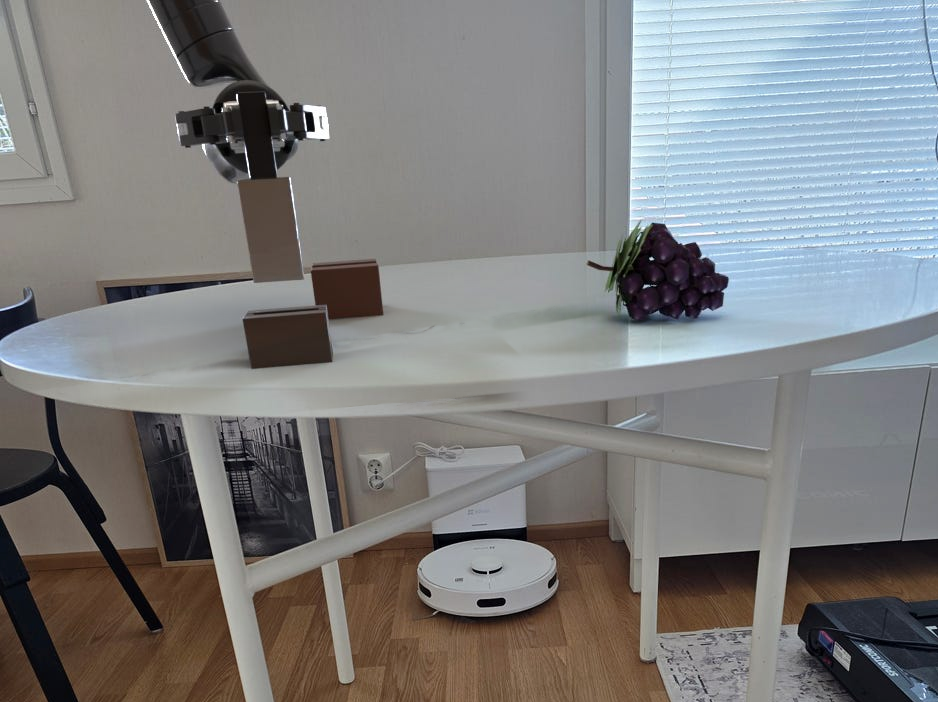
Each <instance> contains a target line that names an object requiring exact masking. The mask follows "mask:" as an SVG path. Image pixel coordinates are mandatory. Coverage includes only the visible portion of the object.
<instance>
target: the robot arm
mask: <svg viewBox="0 0 938 702" xmlns="http://www.w3.org/2000/svg"><path fill="white" fill-rule="evenodd" d="M146 2H147V3H148V5H149V8H150V9H151V11H152V14H153V16H154V18H155V20H156V21H157V24H158V26H159V28H160V29H161V32H162V34H163V36H164V39H165V40H166V42H167V44H168V46H169V48H170V50H171V52H172V54H173V56H174V58H175V61H176V62H177V64H178V66H179V68H180V70H181V72H182V73H183V75H184V78H185V79H186V80H187V82H188V83H189V85H191V86H192V87H193V88H195V89H199V90H202V89H211V88H215V87H221V86H226V87H224V88H223V89H222V90H221V91H220V92H219V93H218V94H217V96H216V98H215V99H214V102H213V104H212V107H211V106H208V105H207V106H203V108H197V109H192V110H186V111H185V110H179V111H178V112H175V113H174V118H175V119H174V120H175V123H176V127H177V128H176V129H177V134H178V140H179V142H180V143H179V145H180V147H184V148H185V149H190V148H192V146H193V147H194V146H202V149H203V152H204V154H205V156H206V159H207V161H208V162H209V164H210V166H211V167H212V169H213V170H214V172H216V174H217V175H219V177H221V178H222V179H223V180H224V181H226V182H228V183H230V184H233V185H237V180H242V179H250V176H249V170H248V164H247V158H246V151H245V145H244V131H243V125H242V119H241V112H240V106H239V105H238V101H237V93H238V92H263V91H264V92H265V95H266V102H267V111H268V118H269V125H270V132H271V137H272V143H273V150H274V157H275V164H276V170H277V171H278V170H279V169H281V168H282V167H283V166H285V164H286V162H288V161H290V159H293V158H294V157H295V156H296V154H297V152H298V150H299V145H300V141H301V142H303V141H305V140H309V141H310V140H315V141H316V140H318V141H320V142H326V141H327V140H330V131H329V121H328V114H327V107H326V106H322V105H310V104H309V105H308V104H300V102H293V104H290V105H289V106H288V105H287V103H286V102H285V100H284V99H283V97H282V96H281V95H280V94H279V93H278V92H277V91H276V90H274V89H273V88H272V87H270V85H269V84H268V83H267V82H266V80H265V79H264V77H263V76H262V75H261V73H260V72H259V70H258V69H257V68H256V66H255V65H254V64H253V62H252V60H251V58H250V57H249V55H248V54H247V52H246V50H245V49H244V47H243V45H242V42H241V41H240V39H239V36H238V35H237V33H236V31H235V28H234V27H233V26H234V25H233V24H232V22H231V19H230V18H229V16H228V13H227V12H226V9H225V7H224V5H223V2H222V1H221V0H146Z"/></svg>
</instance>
